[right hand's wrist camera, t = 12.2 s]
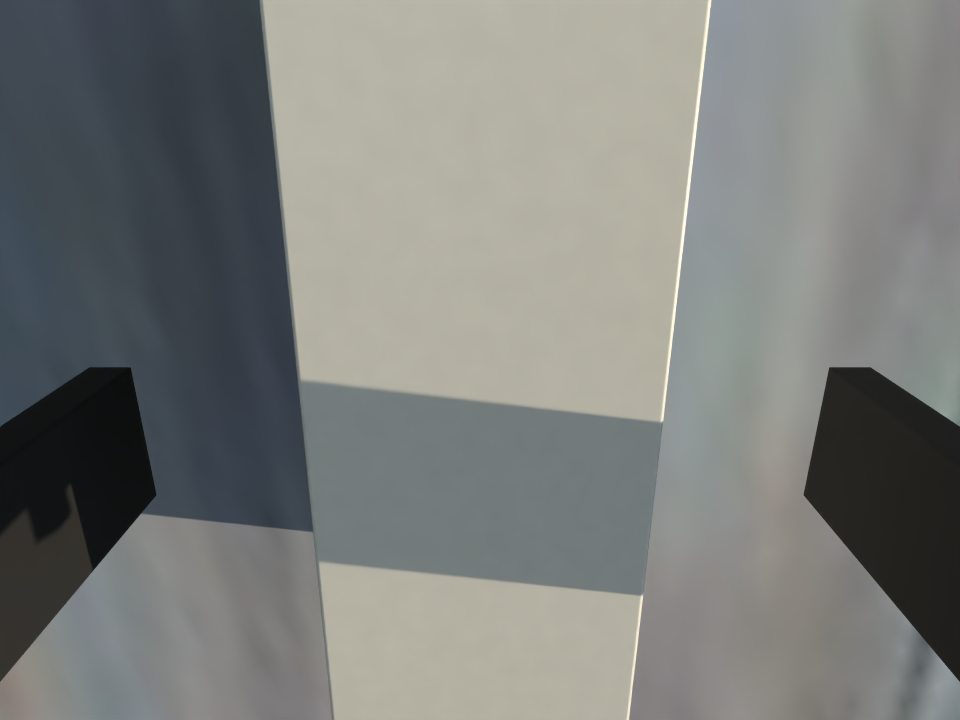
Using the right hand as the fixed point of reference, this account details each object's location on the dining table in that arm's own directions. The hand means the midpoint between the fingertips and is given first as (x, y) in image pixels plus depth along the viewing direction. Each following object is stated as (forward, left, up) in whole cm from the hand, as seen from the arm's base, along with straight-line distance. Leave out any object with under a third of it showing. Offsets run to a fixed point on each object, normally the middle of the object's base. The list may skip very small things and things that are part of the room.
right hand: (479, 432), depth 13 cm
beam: (+13, +23, -4) cm, 26 cm away
